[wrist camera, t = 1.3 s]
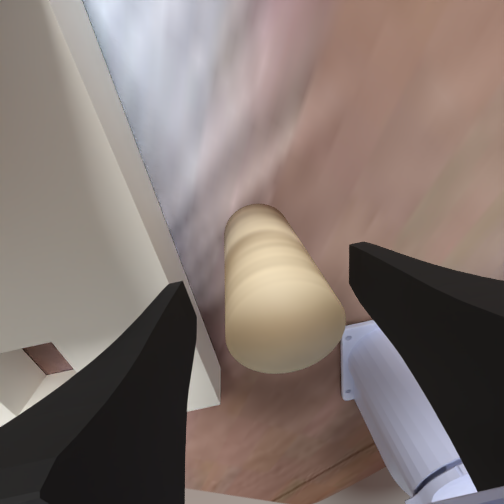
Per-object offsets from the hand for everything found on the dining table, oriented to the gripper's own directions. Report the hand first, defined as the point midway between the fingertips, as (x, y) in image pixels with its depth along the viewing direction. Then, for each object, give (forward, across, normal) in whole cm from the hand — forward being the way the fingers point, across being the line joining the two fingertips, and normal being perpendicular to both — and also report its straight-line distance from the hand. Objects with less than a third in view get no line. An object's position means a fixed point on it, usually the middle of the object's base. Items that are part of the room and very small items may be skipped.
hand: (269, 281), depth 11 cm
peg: (+5, 0, 0) cm, 5 cm away
